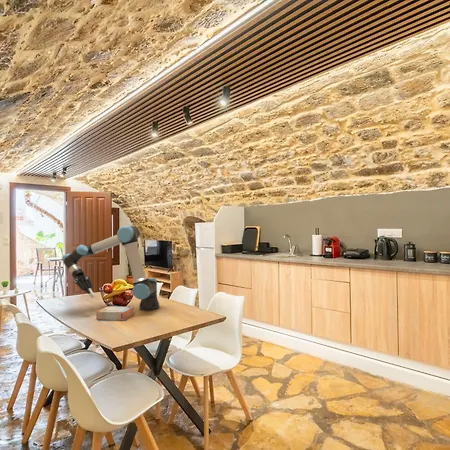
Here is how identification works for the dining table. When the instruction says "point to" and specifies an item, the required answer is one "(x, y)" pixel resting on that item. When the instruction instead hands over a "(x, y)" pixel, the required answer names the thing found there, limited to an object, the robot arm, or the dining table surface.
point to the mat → (113, 320)
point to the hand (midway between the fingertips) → (93, 296)
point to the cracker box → (114, 313)
